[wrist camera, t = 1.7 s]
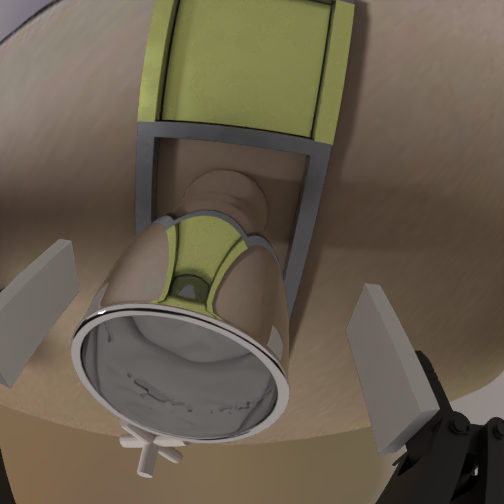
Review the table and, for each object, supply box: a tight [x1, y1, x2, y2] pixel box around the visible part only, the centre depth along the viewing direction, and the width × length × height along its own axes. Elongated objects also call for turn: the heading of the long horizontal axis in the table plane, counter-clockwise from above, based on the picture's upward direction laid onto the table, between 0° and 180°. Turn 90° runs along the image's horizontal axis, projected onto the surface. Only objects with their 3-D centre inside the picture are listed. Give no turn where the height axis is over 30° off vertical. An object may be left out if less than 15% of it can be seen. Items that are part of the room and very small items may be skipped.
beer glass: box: [71, 170, 290, 443], centre depth 14 cm, size 7×7×15 cm
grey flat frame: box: [135, 0, 355, 320], centre depth 20 cm, size 12×34×1 cm, turn 172°
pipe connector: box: [119, 419, 190, 478], centre depth 28 cm, size 10×10×10 cm
